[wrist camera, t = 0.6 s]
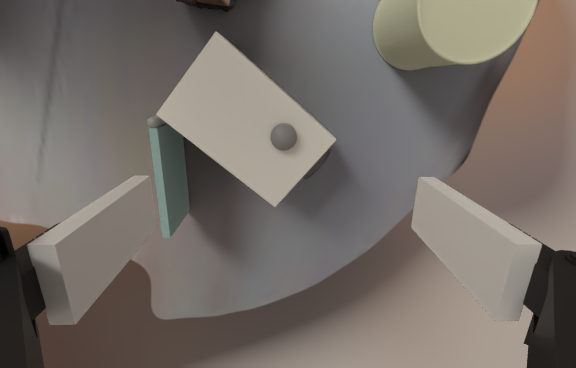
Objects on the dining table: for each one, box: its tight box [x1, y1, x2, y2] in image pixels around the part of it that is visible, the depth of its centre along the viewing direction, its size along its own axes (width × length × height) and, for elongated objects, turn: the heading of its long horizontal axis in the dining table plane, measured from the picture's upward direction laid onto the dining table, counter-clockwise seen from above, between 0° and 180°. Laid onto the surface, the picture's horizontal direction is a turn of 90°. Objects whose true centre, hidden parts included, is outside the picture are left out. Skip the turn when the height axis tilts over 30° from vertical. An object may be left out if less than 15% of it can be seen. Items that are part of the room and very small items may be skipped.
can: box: [373, 0, 538, 70], centre depth 28 cm, size 9×9×12 cm
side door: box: [147, 116, 190, 238], centre depth 34 cm, size 12×2×8 cm, turn 179°
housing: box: [156, 32, 337, 207], centre depth 32 cm, size 15×9×9 cm, turn 49°
